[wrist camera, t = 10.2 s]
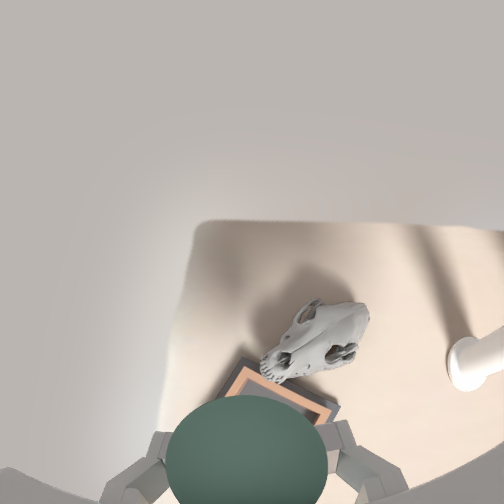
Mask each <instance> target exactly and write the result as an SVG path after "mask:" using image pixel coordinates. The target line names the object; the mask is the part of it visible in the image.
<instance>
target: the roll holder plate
mask: <svg viewBox="0 0 504 504" xmlns="http://www.w3.org/2000/svg"><path fill="white" fill-rule="evenodd" d="M260 367H261V366H259V365H257V364H256V363H254V362H252V361H250V360H248V359H247V358H245V357H242V358H241V360H240V362H239V363H238V365H237V366H236V368H235V369H234V371H233V373H232V374H231V376H230V377H229V379H228V380H227V382H226V383H225V385H224V386H223V388H222V390H221V391H220V393H219V394H218V396H217V397H216V399H220V398H223V397H228V396H235V395H254V396H261V397H267V398H270V399H273V400H277V401H279V402H282V403H284V404H286V405H288V406H290V407H292V408H293V409H295V410H297V411H298V412H299V413H301V414H302V415H303V416H305V417H306V418H307V419H308V420H309V421H310V422H311V423H312V425H319V424H325V423H330V422H333V420H334V418H335V416H336V415H337V413H338V411H339V409H340V407H341V406H339V405H337V404H335V403H333V402H331V401H328V400H326V399H324V398H322V397H320V396H318V395H316V394H314V393H312V392H310V391H307V390H305V389H303V388H301V387H299V386H297V385H295V384H293V383H291V382H289V381H288V380H285V381H284V382H282V383H281V384H279V385H278V384H277V383H278V382H272V381H267V380H265V379H264V378H263V377H262V374H261V372H260ZM216 399H215V400H216Z"/></svg>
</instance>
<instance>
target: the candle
mask: <svg viewBox="0 0 504 504" xmlns="http://www.w3.org/2000/svg"><path fill="white" fill-rule="evenodd" d="M447 368H448V374H449V377H450V379H451V381H452V383H453V384H454V386H455V387H457V388H458V389H460V390H462V391H472V390H475V389H477V388H478V387H479V386H480V385H481V384H482V383H483V382H484V381H485V379H486V377H487V375H489V374H492V373H495V372H498V371H500V370H503V369H504V326H503V327H501V328H499V329H498V330H496V331H494V332H493V333H491V334H489V335H487V336H485V337H484V338H482V339H480V340H479V339H477V338H475V337H471V336H468V337H464V338H461V339H460V340H458V341H457V342H456V343H455V344H454V345H453V347H452V348H451V350H450V353H449V356H448V362H447Z"/></svg>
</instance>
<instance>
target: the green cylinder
mask: <svg viewBox="0 0 504 504" xmlns="http://www.w3.org/2000/svg"><path fill="white" fill-rule="evenodd" d="M165 467H166V475H167V479H168V482H169V485H170V488H171V490H172V492H173V494H174V495H175V497H176V499H177V500H178V501H179V503H180V504H315V503H316V502H317V500H318V499H319V497H320V495H321V494H322V491H323V489H324V487H325V484H326V480H327V475H328V457H327V452H326V448H325V445H324V443H323V440H322V438H321V436H320V435H319V433H318V431H317V430H316V429H315V427H314V426H313V425H312V423H311V422H310V421H309V420H308V419H307V418H306V417H305V416H303V415H302V414H301V413H299V412H298V411H297V410H295V409H293V408H292V407H290V406H288V405H286V404H284V403H282V402H279V401H277V400H273V399H270V398H267V397H261V396H254V395H235V396H228V397H223V398H220V399H216V400H213V401H211V402H208V403H206V404H204V405H202V406H200V407H198V408H197V409H195V410H194V411H193V412H191V413H190V414H189V415H188V416H186V417H185V418H184V419H183V420H182V421H181V423H180V424H179V425H178V426H177V428H176V429H175V431H174V433H173V434H172V436H171V438H170V441H169V443H168V447H167V451H166V459H165Z"/></svg>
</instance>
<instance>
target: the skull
mask: <svg viewBox="0 0 504 504" xmlns="http://www.w3.org/2000/svg"><path fill="white" fill-rule="evenodd" d="M308 306H313V307H312V310H311V311H310V312H309V314H308V315H307V317H306V318H305V320H304V321H303V323H301V324H300V323H299V322H300V319H301V316H302V314H303V313H304V312H305V311H306V310H307V308H308ZM369 321H370V317H369V311H368V309H367V307H366V306H365V304H364V303H354V302H343V303H339V304H336V305H327V306H325V304H324V303H323V302H322V301H321V299H319V298H314V299H312V300H310V301H309V302H308V303H306V304H305V305H304V306H303V307H302V308H301V309H300V310H299V312H298V313H297V314H296V316H295V317H294V319H293V323H292V325H291V326H290V328H289V329H288V330H287V331H286V332H285V333H284V334H283V335H282V336H281V337H280V342H279V345H278V346H276V347H274V348H272V349H271V350H269V351H268V352H267V353H265V354H264V355H263V356H262V357H261V362H260V366H261V367H260V372H261V374H262V377H263V378H264V379H265V380H267V381H272V382H278V383H277V384H278V385H279V384H281V383H282V382H284V381H285V380H286V379H287V378H295V377H299V376H308V375H312V374H314V373H316V372H319V371H322V370H332V369H335V368H339V367H342V366H344V365H347V364H350V363H351V362H352V361H353V360H354V358H355V354H356V352H355V351H356V350H357V349H358V343H359V342H360V340H361V338H362V336H363V333H364V331H365V329H366V327H367V325H368V322H369ZM332 345H337V347H336V350H335V352H334V354H331V355H328V356H326V357H325V354H326V353H327V352H328V351H329V350H330V348H331V347H332ZM265 358H266V359H265ZM280 359H282V360H280ZM279 360H280V361H279ZM283 363H284V366H281V364H283Z"/></svg>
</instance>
